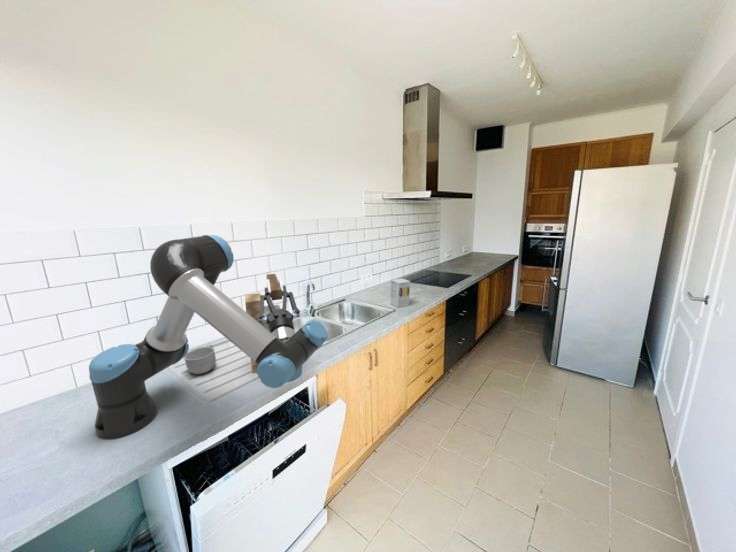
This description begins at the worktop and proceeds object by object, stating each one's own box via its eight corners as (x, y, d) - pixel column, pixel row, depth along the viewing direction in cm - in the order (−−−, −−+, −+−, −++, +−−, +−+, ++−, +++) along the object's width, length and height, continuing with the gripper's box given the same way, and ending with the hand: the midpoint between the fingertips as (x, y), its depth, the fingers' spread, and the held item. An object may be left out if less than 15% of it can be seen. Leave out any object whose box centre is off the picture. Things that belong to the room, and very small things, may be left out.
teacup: (204, 379, 115) (201, 360, 113) (180, 375, 117) (176, 357, 115) (227, 360, 129) (225, 343, 127) (205, 357, 131) (203, 341, 129)
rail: (271, 300, 102) (271, 290, 102) (267, 282, 124) (266, 274, 123) (282, 299, 104) (281, 289, 103) (275, 281, 125) (275, 273, 124)
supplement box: (397, 307, 193) (398, 282, 189) (389, 303, 201) (390, 279, 196) (409, 305, 197) (410, 281, 193) (401, 301, 205) (402, 277, 201)
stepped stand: (252, 373, 119) (245, 302, 112) (251, 361, 128) (244, 294, 121) (285, 366, 124) (280, 298, 117) (282, 355, 133) (277, 291, 126)
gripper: (255, 344, 94) (250, 290, 109) (308, 336, 100) (296, 286, 115) (253, 330, 89) (249, 275, 104) (309, 322, 95) (297, 272, 110)
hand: (274, 281), depth 109 cm, fingers closed on rail, 3 cm apart
